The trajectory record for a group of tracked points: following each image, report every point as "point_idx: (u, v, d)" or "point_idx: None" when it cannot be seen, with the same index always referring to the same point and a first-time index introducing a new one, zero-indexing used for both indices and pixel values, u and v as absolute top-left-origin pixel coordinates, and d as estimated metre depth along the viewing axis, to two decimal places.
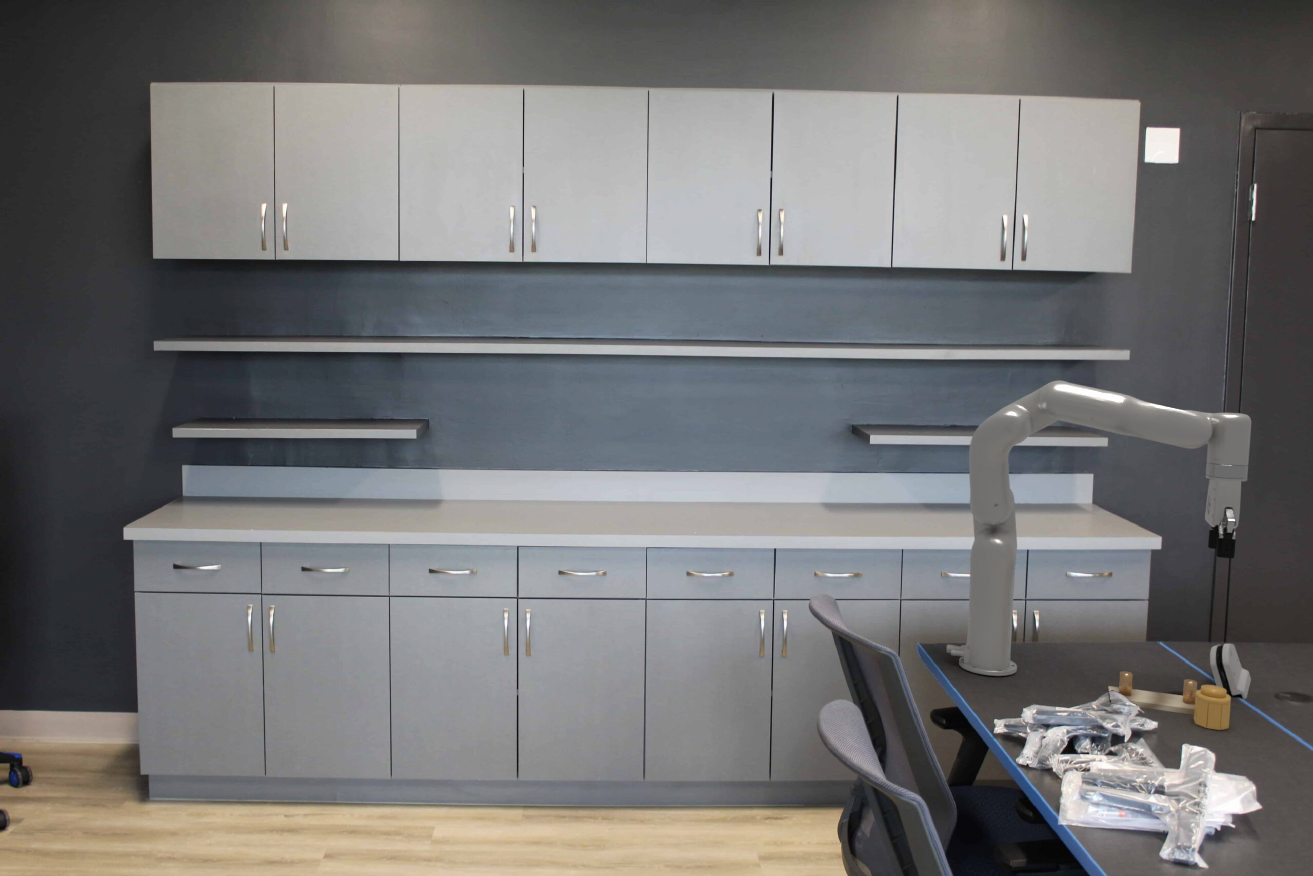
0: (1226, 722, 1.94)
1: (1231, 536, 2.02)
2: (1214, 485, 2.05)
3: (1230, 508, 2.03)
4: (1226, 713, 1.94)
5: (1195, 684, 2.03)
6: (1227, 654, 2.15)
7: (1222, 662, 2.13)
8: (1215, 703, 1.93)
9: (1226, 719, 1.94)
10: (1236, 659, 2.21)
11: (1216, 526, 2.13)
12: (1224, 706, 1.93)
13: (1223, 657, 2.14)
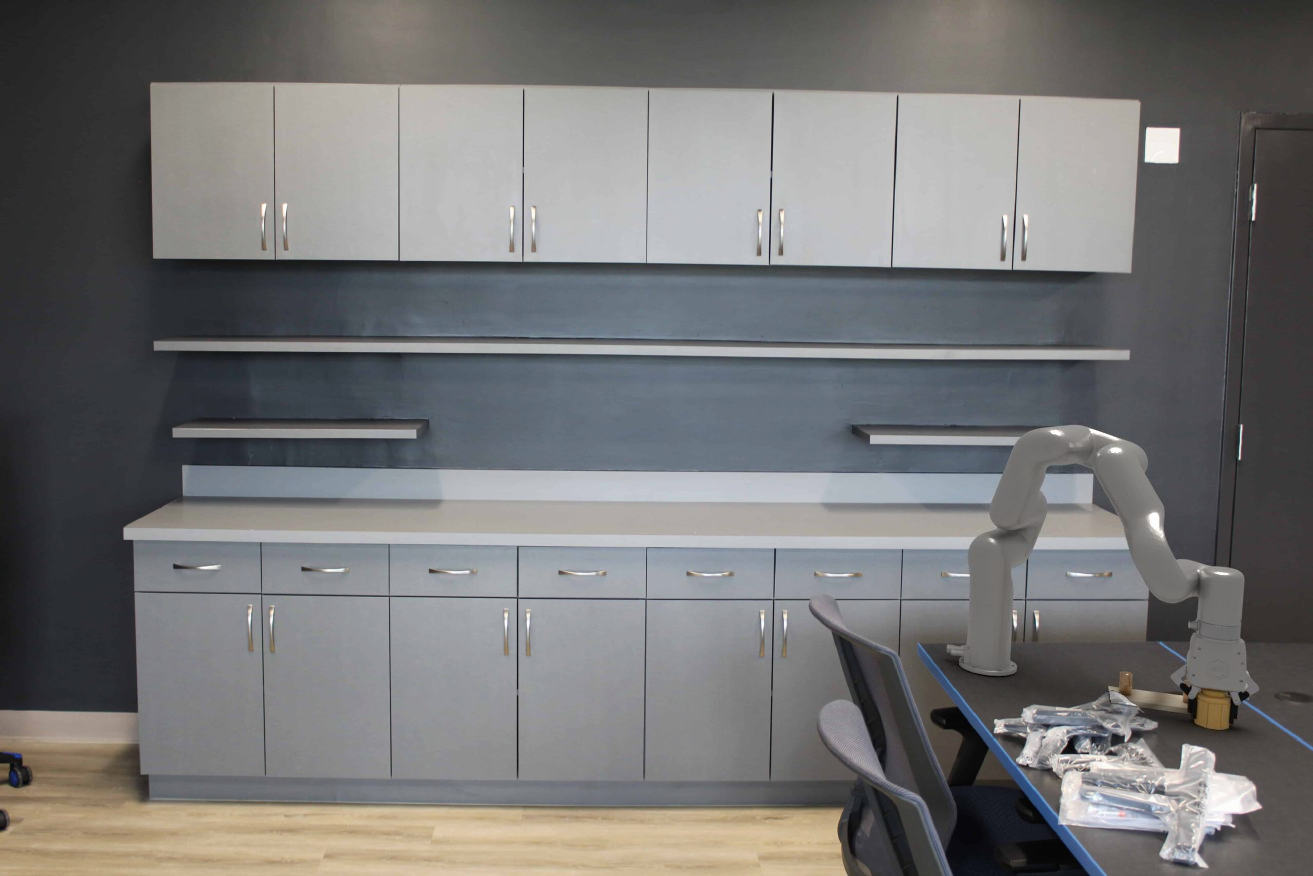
0: (1226, 722, 1.94)
1: None
2: (1237, 648, 1.91)
3: None
4: (1226, 713, 1.94)
5: None
6: None
7: None
8: (1215, 703, 1.93)
9: (1226, 719, 1.94)
10: None
11: None
12: (1224, 706, 1.93)
13: None
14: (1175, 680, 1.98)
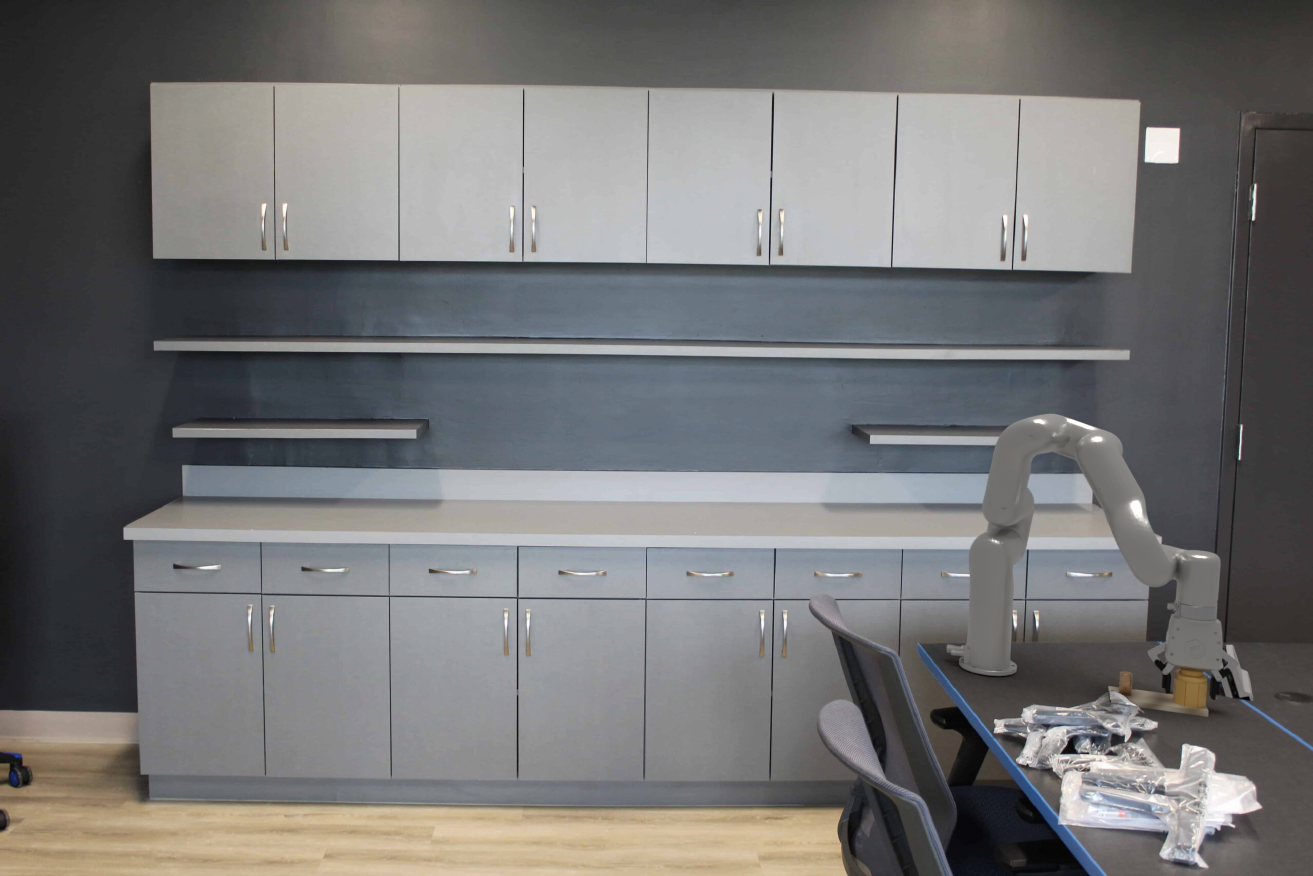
0: (1203, 700, 2.02)
1: None
2: (1213, 628, 2.00)
3: None
4: (1203, 692, 2.02)
5: None
6: (1233, 656, 2.13)
7: None
8: (1192, 682, 2.02)
9: (1203, 697, 2.02)
10: (1237, 660, 2.20)
11: None
12: (1201, 685, 2.02)
13: None
14: (1151, 656, 2.06)
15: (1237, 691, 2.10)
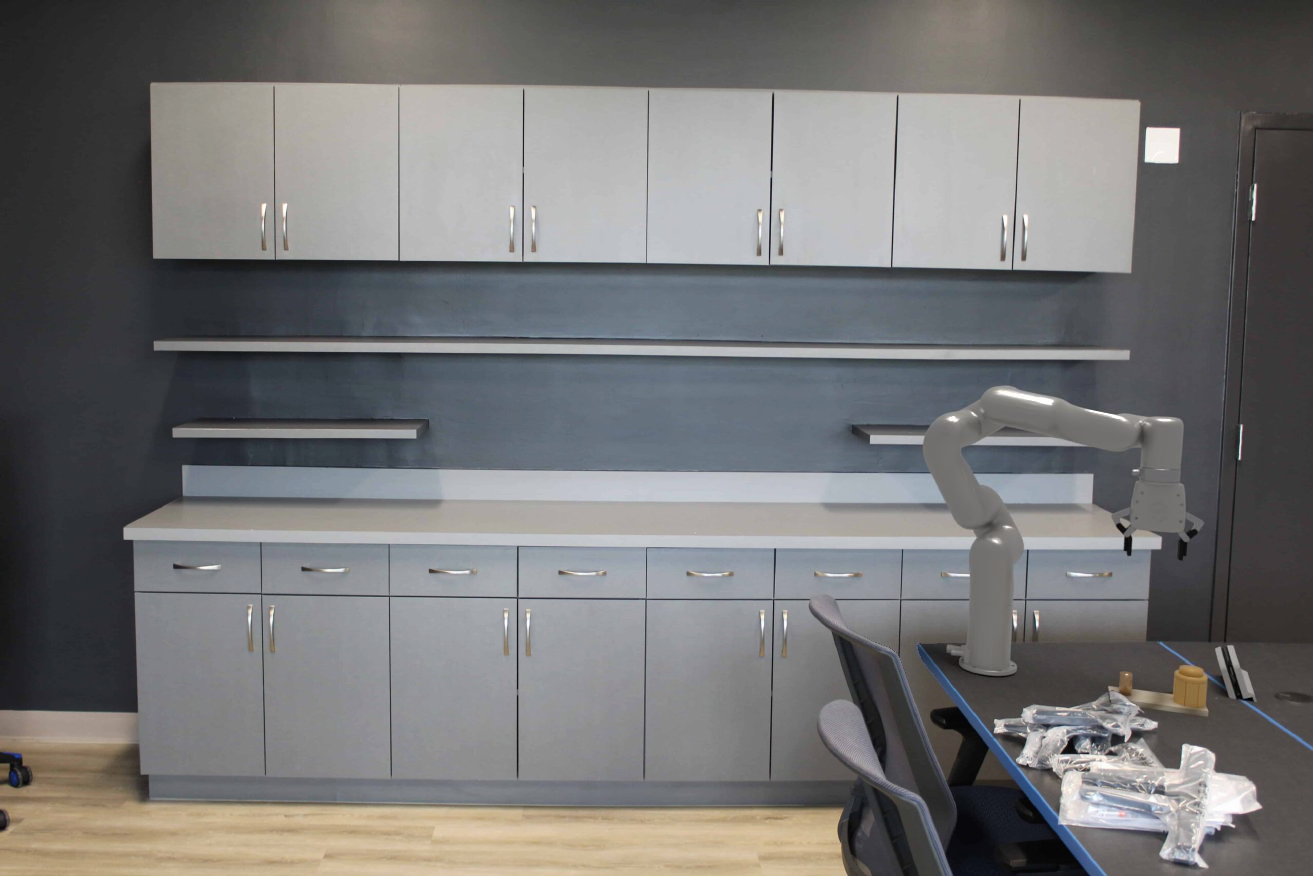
0: (1203, 700, 2.02)
1: None
2: (1176, 490, 2.03)
3: None
4: (1203, 692, 2.02)
5: None
6: (1235, 657, 2.13)
7: (1232, 665, 2.11)
8: (1192, 682, 2.02)
9: (1203, 697, 2.02)
10: None
11: None
12: (1201, 685, 2.02)
13: (1232, 660, 2.12)
14: (1114, 518, 2.09)
15: (1240, 692, 2.10)
